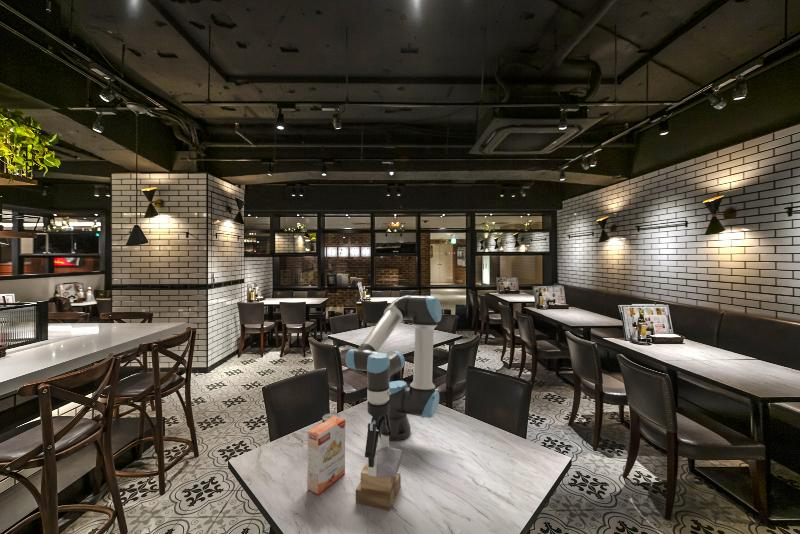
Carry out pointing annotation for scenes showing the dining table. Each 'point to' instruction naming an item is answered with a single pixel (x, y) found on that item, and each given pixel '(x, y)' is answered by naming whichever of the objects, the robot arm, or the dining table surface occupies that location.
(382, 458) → the stone block
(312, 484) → the cracker box
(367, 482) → the tower top block
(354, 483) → the dining table surface
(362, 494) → the tower base block
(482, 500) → the dining table surface
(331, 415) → the canned tomato
